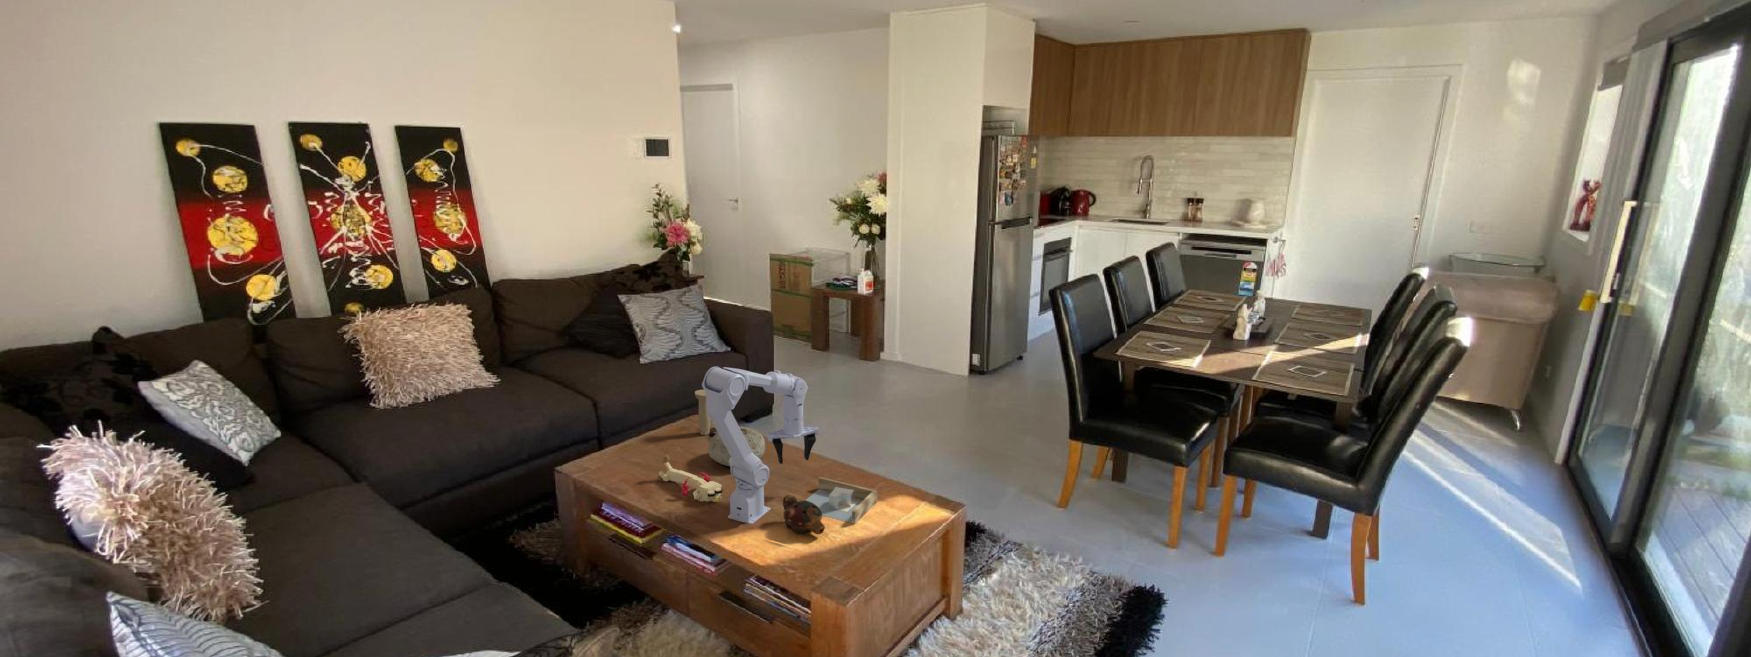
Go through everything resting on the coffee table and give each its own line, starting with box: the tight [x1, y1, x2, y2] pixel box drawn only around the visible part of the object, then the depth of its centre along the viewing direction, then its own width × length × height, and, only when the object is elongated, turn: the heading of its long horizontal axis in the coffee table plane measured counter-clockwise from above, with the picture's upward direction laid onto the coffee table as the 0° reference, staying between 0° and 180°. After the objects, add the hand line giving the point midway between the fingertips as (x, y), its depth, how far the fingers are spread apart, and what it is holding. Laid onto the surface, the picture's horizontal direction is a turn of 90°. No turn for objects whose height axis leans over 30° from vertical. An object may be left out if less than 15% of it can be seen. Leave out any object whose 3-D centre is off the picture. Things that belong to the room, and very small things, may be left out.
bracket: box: [829, 487, 854, 510], centre depth 212 cm, size 6×6×4 cm
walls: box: [818, 476, 878, 525], centre depth 212 cm, size 14×18×4 cm
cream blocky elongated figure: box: [656, 454, 723, 503], centre depth 219 cm, size 10×9×25 cm
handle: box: [694, 389, 711, 436], centre depth 258 cm, size 5×6×15 cm
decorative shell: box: [707, 426, 766, 467], centre depth 239 cm, size 18×18×10 cm
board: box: [804, 488, 863, 524], centre depth 212 cm, size 13×18×1 cm
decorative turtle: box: [782, 494, 826, 536], centre depth 200 cm, size 10×15×8 cm, turn 51°
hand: (793, 460), depth 218 cm, fingers open, 7 cm apart
